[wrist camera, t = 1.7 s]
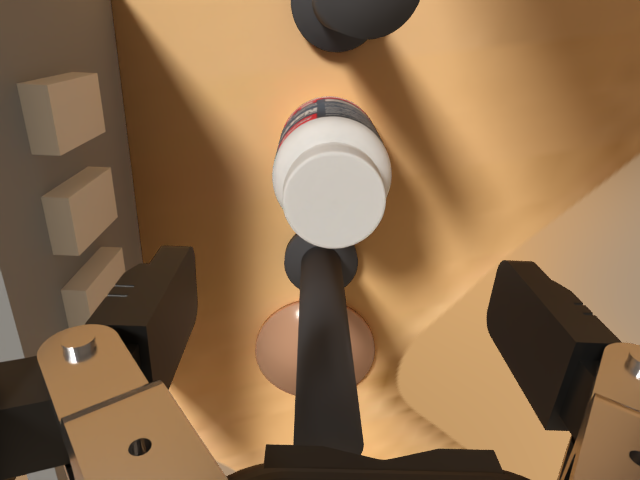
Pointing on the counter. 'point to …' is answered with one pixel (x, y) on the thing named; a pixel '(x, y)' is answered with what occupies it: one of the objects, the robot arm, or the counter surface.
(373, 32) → the post
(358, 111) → the pill bottle
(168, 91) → the counter surface
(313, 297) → the post
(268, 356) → the coaster
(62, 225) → the panel
